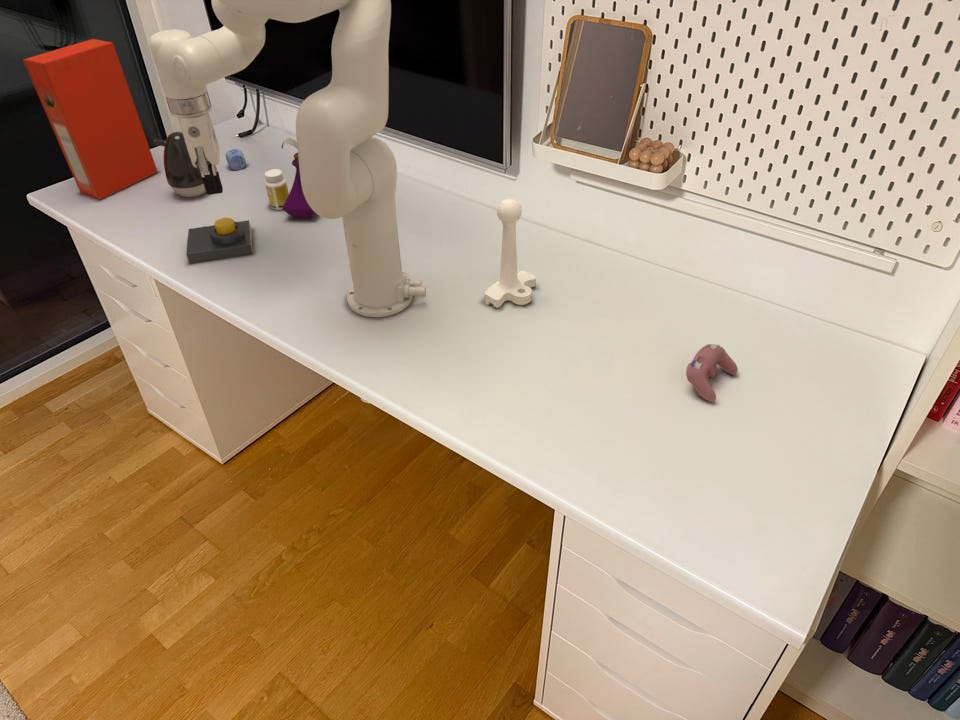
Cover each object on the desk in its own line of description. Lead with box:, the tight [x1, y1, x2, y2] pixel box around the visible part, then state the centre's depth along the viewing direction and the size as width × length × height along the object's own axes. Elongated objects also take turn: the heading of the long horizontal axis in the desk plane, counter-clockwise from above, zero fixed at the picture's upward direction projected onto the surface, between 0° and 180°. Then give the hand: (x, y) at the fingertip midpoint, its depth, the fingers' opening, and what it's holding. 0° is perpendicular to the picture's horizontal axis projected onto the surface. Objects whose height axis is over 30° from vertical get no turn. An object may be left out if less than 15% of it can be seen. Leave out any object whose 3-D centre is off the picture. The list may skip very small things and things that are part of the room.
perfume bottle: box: [280, 137, 316, 220], centre depth 156 cm, size 8×8×18 cm
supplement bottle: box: [264, 168, 290, 211], centre depth 162 cm, size 5×5×8 cm
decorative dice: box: [225, 148, 247, 171], centre depth 181 cm, size 4×4×4 cm
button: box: [213, 217, 236, 235], centre depth 147 cm, size 4×4×2 cm
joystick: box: [484, 198, 537, 309], centre depth 128 cm, size 11×8×20 cm
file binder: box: [22, 38, 159, 201], centre depth 166 cm, size 8×17×32 cm, turn 149°
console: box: [185, 219, 254, 265], centre depth 150 cm, size 13×11×4 cm
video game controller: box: [685, 343, 739, 403], centre depth 113 cm, size 10×5×7 cm, turn 141°
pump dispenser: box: [152, 131, 206, 198], centre depth 166 cm, size 10×10×15 cm
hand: (215, 192), depth 142 cm, fingers closed
